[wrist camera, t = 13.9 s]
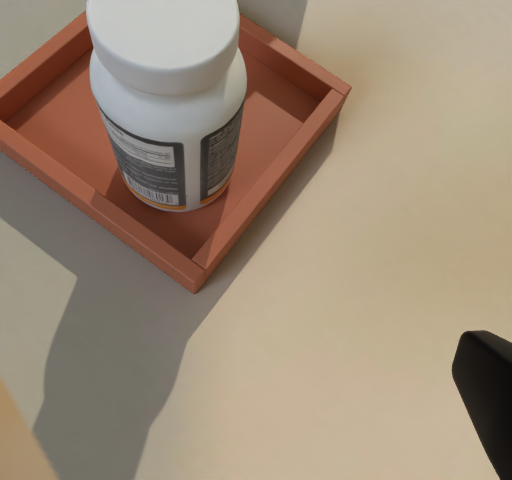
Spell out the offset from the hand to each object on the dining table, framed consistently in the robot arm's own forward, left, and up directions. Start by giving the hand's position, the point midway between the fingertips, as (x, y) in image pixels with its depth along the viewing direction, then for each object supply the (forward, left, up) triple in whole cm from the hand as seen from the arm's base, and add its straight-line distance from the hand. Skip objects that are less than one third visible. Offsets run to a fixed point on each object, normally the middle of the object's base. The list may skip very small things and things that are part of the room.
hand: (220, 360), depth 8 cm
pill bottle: (+8, +8, -13) cm, 17 cm away
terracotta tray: (+10, +10, -13) cm, 19 cm away
